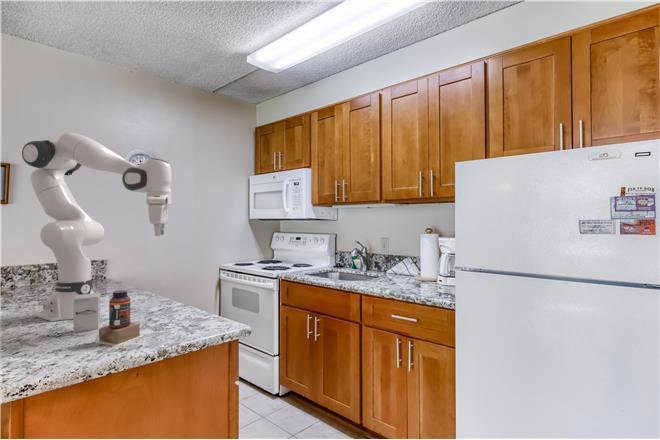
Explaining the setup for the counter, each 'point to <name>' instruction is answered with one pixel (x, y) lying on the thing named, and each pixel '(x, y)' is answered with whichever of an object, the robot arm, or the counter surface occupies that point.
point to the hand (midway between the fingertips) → (159, 235)
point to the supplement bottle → (119, 309)
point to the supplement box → (86, 312)
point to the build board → (118, 344)
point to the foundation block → (119, 333)
